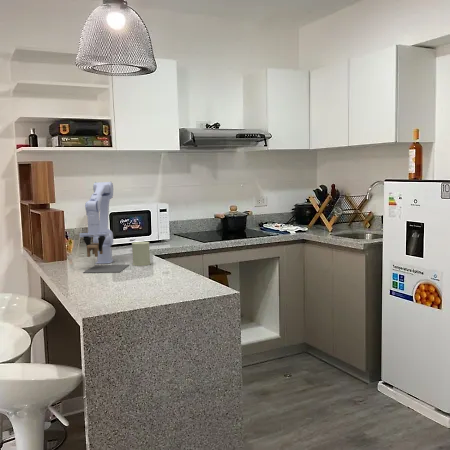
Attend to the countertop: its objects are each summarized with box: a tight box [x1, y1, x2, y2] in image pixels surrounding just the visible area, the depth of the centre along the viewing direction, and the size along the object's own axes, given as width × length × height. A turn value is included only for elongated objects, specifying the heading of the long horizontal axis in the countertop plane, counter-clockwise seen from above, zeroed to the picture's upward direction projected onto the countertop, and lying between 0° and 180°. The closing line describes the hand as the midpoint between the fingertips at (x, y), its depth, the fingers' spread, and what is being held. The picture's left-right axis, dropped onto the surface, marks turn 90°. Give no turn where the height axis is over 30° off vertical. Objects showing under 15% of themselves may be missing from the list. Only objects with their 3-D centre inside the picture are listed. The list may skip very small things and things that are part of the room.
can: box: [131, 241, 151, 267], centre depth 268 cm, size 9×9×12 cm
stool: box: [86, 242, 103, 258], centre depth 258 cm, size 10×5×6 cm, turn 177°
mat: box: [82, 264, 130, 274], centre depth 257 cm, size 20×18×1 cm
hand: (95, 251), depth 258 cm, fingers closed on stool, 5 cm apart
